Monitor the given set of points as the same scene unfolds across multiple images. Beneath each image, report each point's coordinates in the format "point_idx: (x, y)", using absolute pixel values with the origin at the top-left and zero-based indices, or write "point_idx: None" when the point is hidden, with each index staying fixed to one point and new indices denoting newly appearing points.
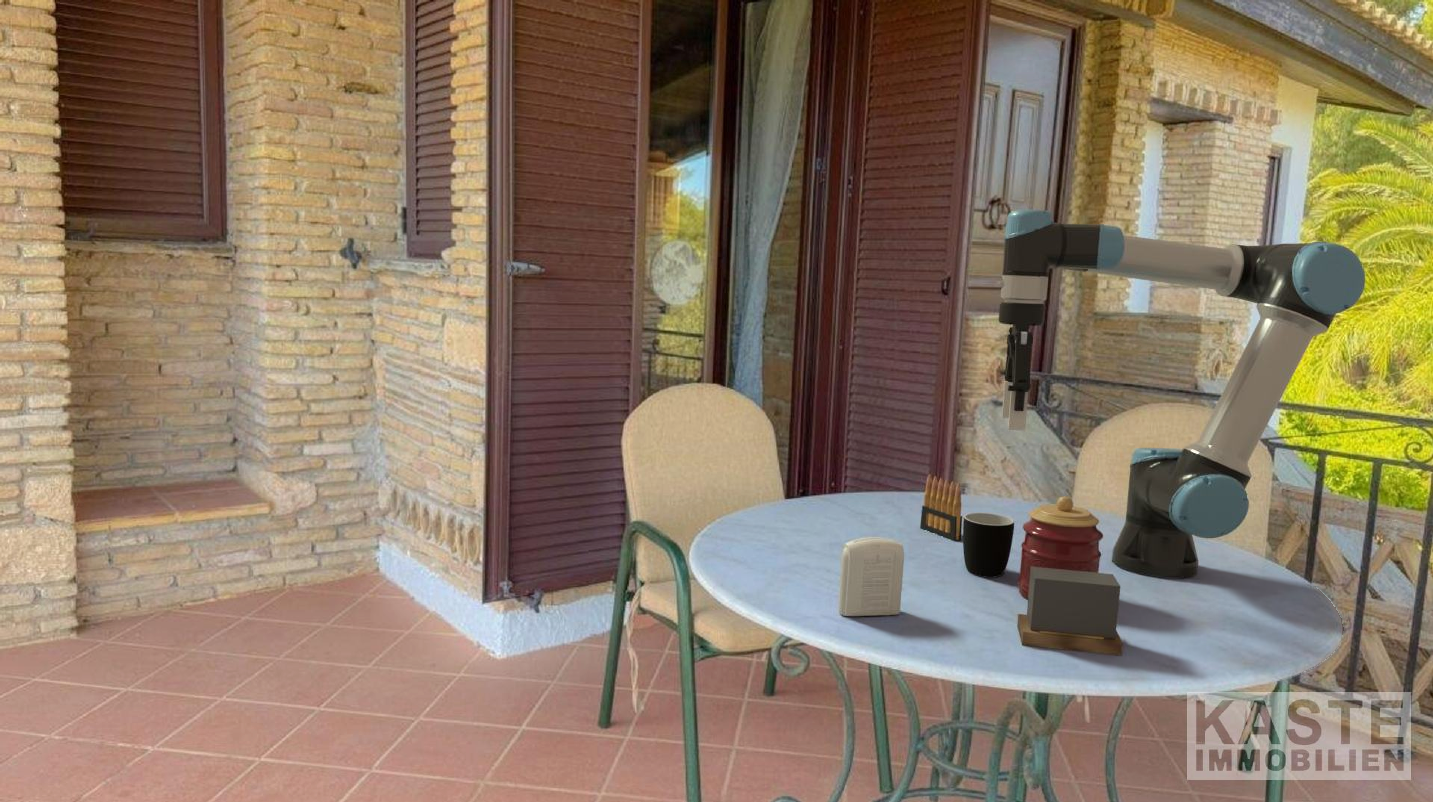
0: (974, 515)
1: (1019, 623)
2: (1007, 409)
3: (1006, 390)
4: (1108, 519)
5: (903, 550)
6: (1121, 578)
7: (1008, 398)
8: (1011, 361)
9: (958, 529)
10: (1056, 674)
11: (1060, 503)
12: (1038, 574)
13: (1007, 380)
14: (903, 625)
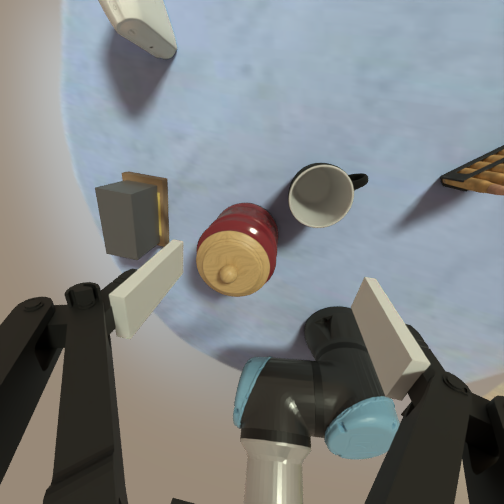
0: (349, 184)
1: (150, 177)
2: (368, 300)
3: (394, 338)
4: (497, 357)
5: (115, 29)
6: (303, 297)
7: (379, 324)
8: (388, 479)
9: (451, 183)
10: (85, 181)
11: (222, 268)
12: (107, 194)
13: (432, 377)
14: (134, 61)
